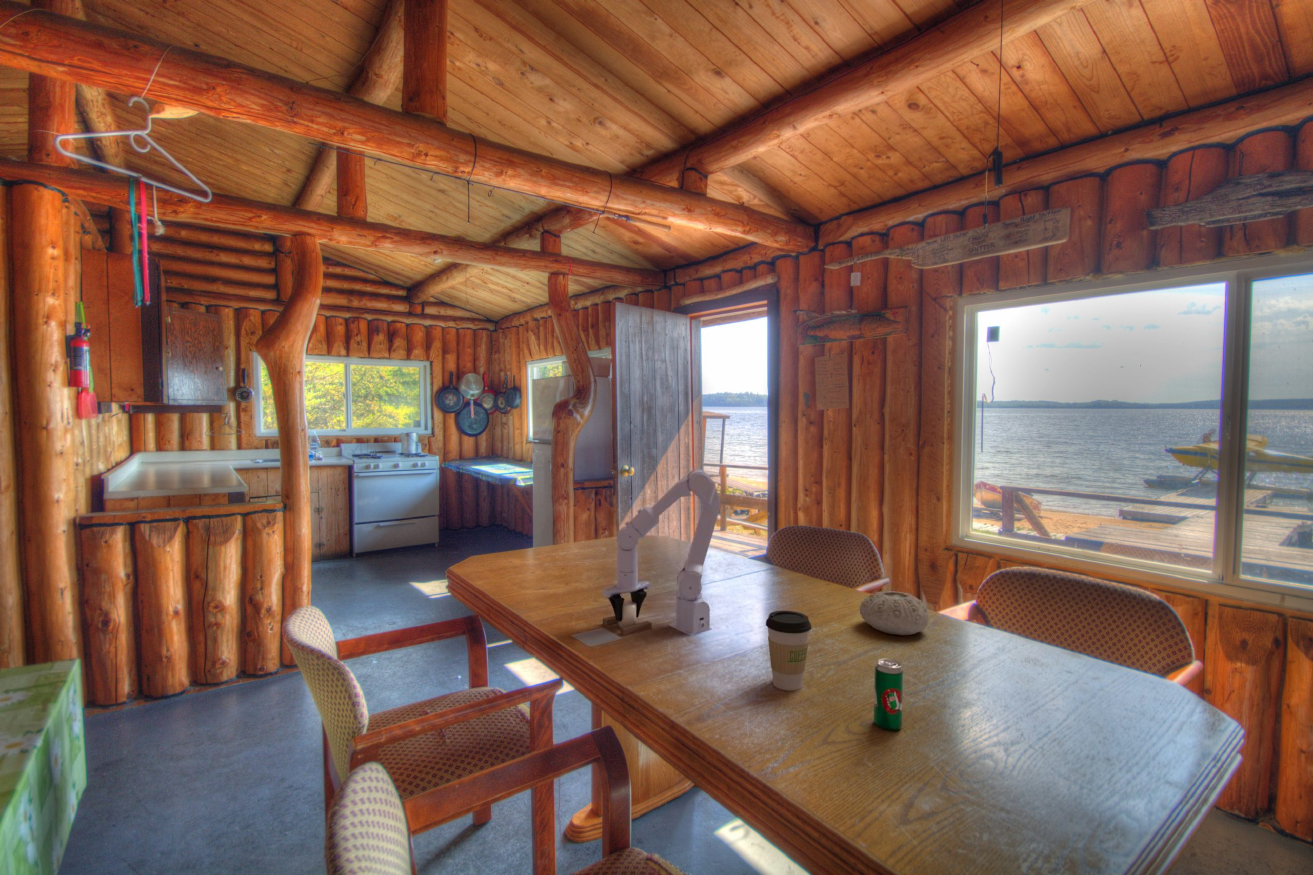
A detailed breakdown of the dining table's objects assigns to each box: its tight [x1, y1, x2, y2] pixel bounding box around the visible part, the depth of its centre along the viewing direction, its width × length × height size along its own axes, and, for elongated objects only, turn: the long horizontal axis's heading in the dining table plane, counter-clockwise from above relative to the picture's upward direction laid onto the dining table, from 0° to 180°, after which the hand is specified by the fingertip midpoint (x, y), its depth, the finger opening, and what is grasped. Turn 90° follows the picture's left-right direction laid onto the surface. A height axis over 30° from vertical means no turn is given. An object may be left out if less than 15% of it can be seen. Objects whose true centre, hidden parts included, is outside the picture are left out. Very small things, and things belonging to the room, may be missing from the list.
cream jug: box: [618, 600, 637, 627], centre depth 166 cm, size 7×5×6 cm
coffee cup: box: [765, 610, 812, 692], centre depth 130 cm, size 10×10×15 cm
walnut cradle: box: [602, 615, 653, 637], centre depth 165 cm, size 11×9×2 cm
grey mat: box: [570, 627, 623, 648], centre depth 157 cm, size 10×10×1 cm
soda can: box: [873, 658, 904, 732], centre depth 113 cm, size 5×5×12 cm
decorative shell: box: [859, 590, 930, 636], centre depth 166 cm, size 18×18×10 cm
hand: (627, 618), depth 165 cm, fingers closed on cream jug, 5 cm apart
